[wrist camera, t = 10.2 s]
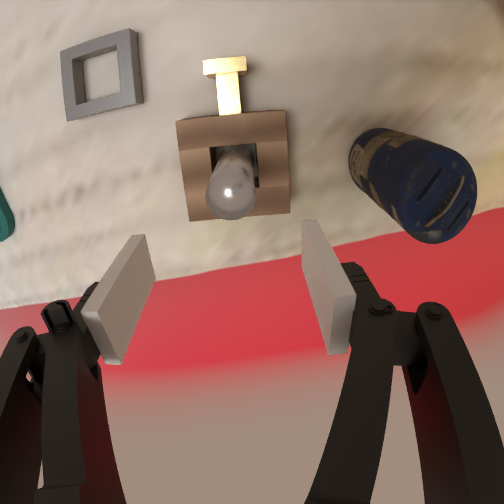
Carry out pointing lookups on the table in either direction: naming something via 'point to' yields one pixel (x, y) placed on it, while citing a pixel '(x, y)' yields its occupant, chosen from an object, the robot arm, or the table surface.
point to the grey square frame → (128, 74)
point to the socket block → (231, 133)
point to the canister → (415, 182)
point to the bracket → (5, 219)
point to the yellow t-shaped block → (227, 81)
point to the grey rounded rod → (232, 184)
